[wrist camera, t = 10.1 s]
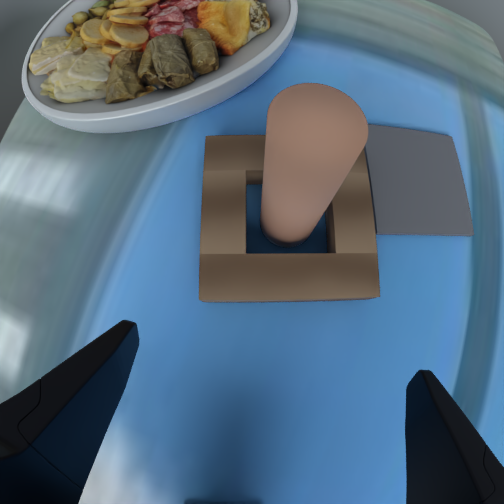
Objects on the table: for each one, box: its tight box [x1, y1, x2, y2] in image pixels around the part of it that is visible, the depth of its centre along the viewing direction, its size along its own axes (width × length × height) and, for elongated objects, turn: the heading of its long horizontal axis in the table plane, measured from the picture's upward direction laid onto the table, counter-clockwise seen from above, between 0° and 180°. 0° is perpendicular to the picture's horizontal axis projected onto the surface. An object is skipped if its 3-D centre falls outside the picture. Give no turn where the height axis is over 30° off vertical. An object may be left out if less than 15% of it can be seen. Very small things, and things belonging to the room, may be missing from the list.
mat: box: [364, 124, 474, 236], centre depth 25 cm, size 10×10×1 cm
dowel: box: [260, 83, 368, 248], centre depth 18 cm, size 4×4×13 cm
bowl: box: [22, 0, 298, 133], centre depth 25 cm, size 30×30×8 cm
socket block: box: [199, 135, 380, 302], centre depth 23 cm, size 12×12×2 cm
